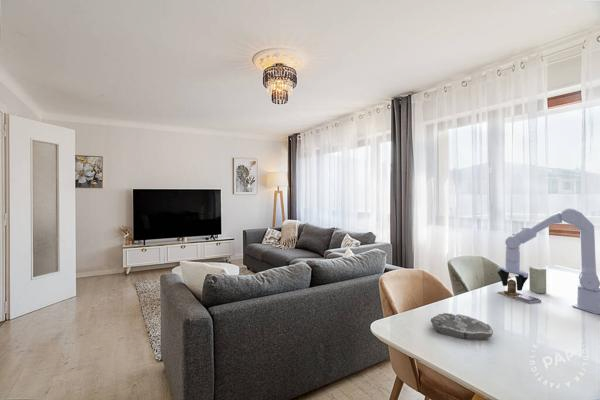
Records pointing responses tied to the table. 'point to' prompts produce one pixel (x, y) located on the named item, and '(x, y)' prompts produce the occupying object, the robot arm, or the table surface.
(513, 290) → the stamp
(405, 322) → the table surface
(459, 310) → the table surface
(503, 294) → the beige square tile
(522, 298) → the ink pad
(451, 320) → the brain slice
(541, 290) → the skincare box
